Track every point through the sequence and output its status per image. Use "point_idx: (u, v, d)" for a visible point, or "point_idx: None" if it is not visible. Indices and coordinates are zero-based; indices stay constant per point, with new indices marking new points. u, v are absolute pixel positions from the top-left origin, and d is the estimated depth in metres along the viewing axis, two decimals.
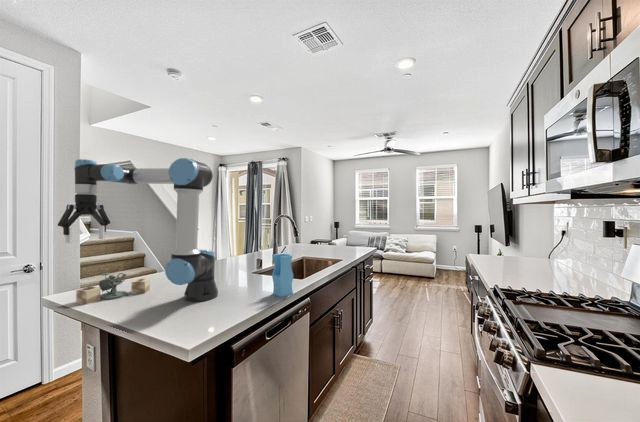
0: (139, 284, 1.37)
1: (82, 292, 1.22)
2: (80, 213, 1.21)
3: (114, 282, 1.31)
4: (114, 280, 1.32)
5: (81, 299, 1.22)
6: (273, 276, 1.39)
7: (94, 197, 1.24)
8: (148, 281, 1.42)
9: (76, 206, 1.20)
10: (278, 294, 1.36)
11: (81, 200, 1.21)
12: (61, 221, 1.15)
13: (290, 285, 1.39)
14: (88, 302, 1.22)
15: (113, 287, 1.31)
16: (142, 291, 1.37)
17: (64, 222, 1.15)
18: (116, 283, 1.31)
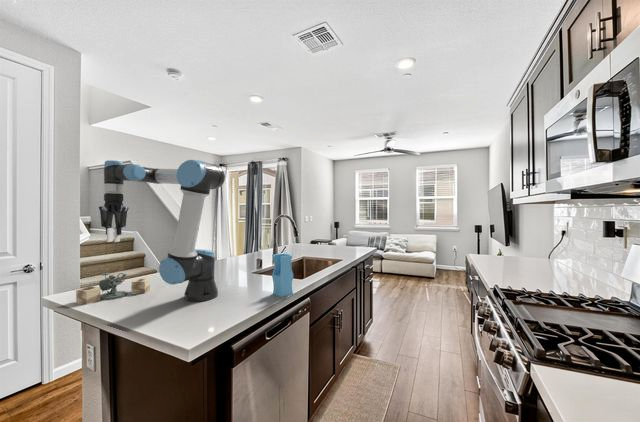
0: (139, 284, 1.37)
1: (82, 292, 1.22)
2: (107, 212, 1.30)
3: (114, 282, 1.31)
4: (114, 280, 1.32)
5: (81, 299, 1.22)
6: (273, 276, 1.39)
7: (110, 195, 1.28)
8: (148, 281, 1.42)
9: (104, 206, 1.32)
10: (278, 294, 1.36)
11: None
12: None
13: (290, 285, 1.39)
14: (88, 302, 1.22)
15: (113, 287, 1.31)
16: (142, 291, 1.37)
17: (102, 223, 1.31)
18: (116, 283, 1.31)
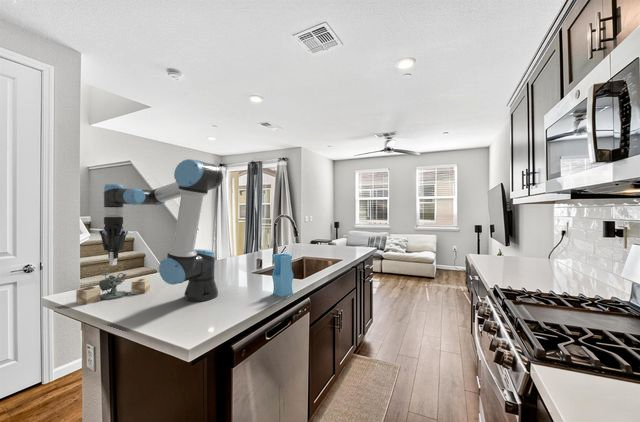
0: (139, 284, 1.37)
1: (82, 292, 1.22)
2: (108, 236, 1.30)
3: (114, 282, 1.31)
4: (114, 280, 1.32)
5: (81, 299, 1.22)
6: (273, 276, 1.39)
7: (110, 219, 1.28)
8: (148, 281, 1.42)
9: (104, 229, 1.32)
10: (278, 294, 1.36)
11: None
12: None
13: (290, 285, 1.39)
14: (88, 302, 1.22)
15: (113, 287, 1.31)
16: (142, 291, 1.37)
17: (104, 247, 1.31)
18: (116, 283, 1.31)
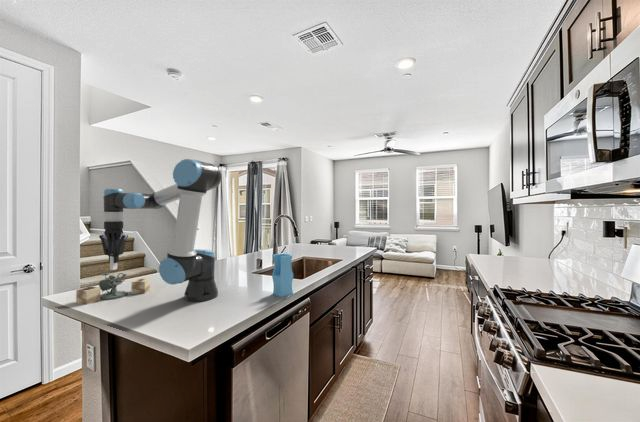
0: (139, 284, 1.37)
1: (82, 292, 1.22)
2: (108, 240, 1.30)
3: (114, 282, 1.31)
4: (114, 280, 1.32)
5: (81, 299, 1.22)
6: (273, 276, 1.39)
7: (110, 224, 1.28)
8: (148, 281, 1.42)
9: (104, 234, 1.32)
10: (278, 294, 1.36)
11: None
12: None
13: (290, 285, 1.39)
14: (88, 302, 1.22)
15: (113, 287, 1.31)
16: (142, 291, 1.37)
17: (104, 251, 1.31)
18: (116, 283, 1.31)
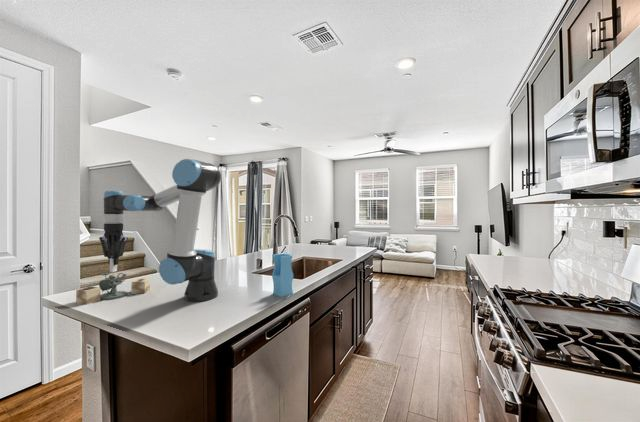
0: (138, 284, 1.37)
1: (82, 292, 1.22)
2: (108, 242, 1.30)
3: (114, 282, 1.31)
4: (114, 280, 1.32)
5: (81, 299, 1.22)
6: (273, 276, 1.39)
7: (110, 226, 1.28)
8: (148, 281, 1.42)
9: (104, 236, 1.32)
10: (278, 294, 1.36)
11: None
12: None
13: (290, 285, 1.39)
14: (88, 302, 1.22)
15: (113, 287, 1.31)
16: (142, 291, 1.37)
17: (104, 253, 1.31)
18: (116, 283, 1.31)
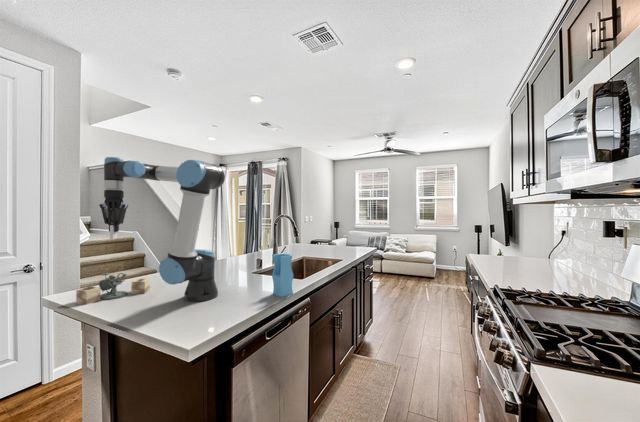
0: (138, 284, 1.37)
1: (82, 292, 1.22)
2: (108, 209, 1.30)
3: (114, 282, 1.31)
4: (114, 280, 1.32)
5: (81, 299, 1.22)
6: (273, 276, 1.39)
7: (110, 192, 1.28)
8: (148, 281, 1.42)
9: (104, 203, 1.32)
10: (278, 294, 1.36)
11: None
12: None
13: (290, 285, 1.39)
14: (88, 302, 1.22)
15: (113, 287, 1.31)
16: (142, 291, 1.37)
17: (105, 220, 1.31)
18: (116, 283, 1.31)
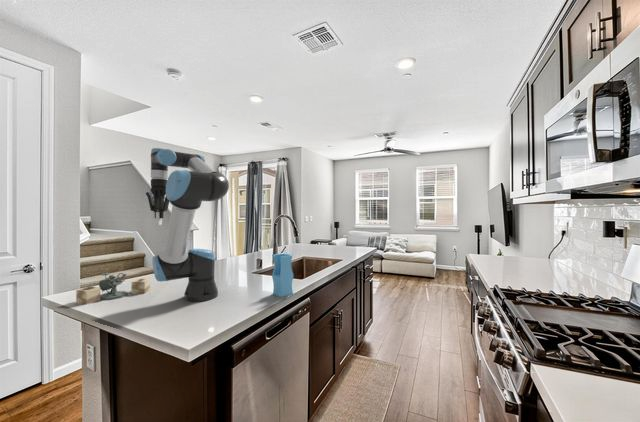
0: (138, 284, 1.37)
1: (82, 292, 1.22)
2: (154, 197, 1.39)
3: (114, 282, 1.31)
4: (114, 280, 1.32)
5: (81, 299, 1.22)
6: (273, 276, 1.39)
7: (157, 181, 1.37)
8: (148, 281, 1.42)
9: (150, 191, 1.41)
10: (278, 294, 1.36)
11: None
12: None
13: (290, 285, 1.39)
14: (88, 302, 1.22)
15: (113, 287, 1.31)
16: (142, 291, 1.37)
17: (151, 207, 1.40)
18: (116, 283, 1.31)
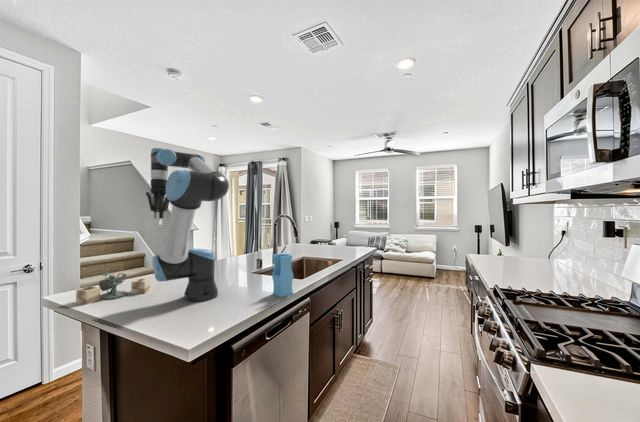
0: (138, 284, 1.37)
1: (82, 292, 1.22)
2: (154, 197, 1.39)
3: (114, 282, 1.31)
4: (114, 280, 1.32)
5: (81, 299, 1.22)
6: (273, 276, 1.39)
7: (157, 181, 1.37)
8: (148, 281, 1.42)
9: (150, 191, 1.41)
10: (278, 294, 1.36)
11: None
12: None
13: (290, 285, 1.39)
14: (88, 302, 1.22)
15: (113, 287, 1.31)
16: (142, 291, 1.37)
17: (151, 207, 1.40)
18: (116, 283, 1.31)
